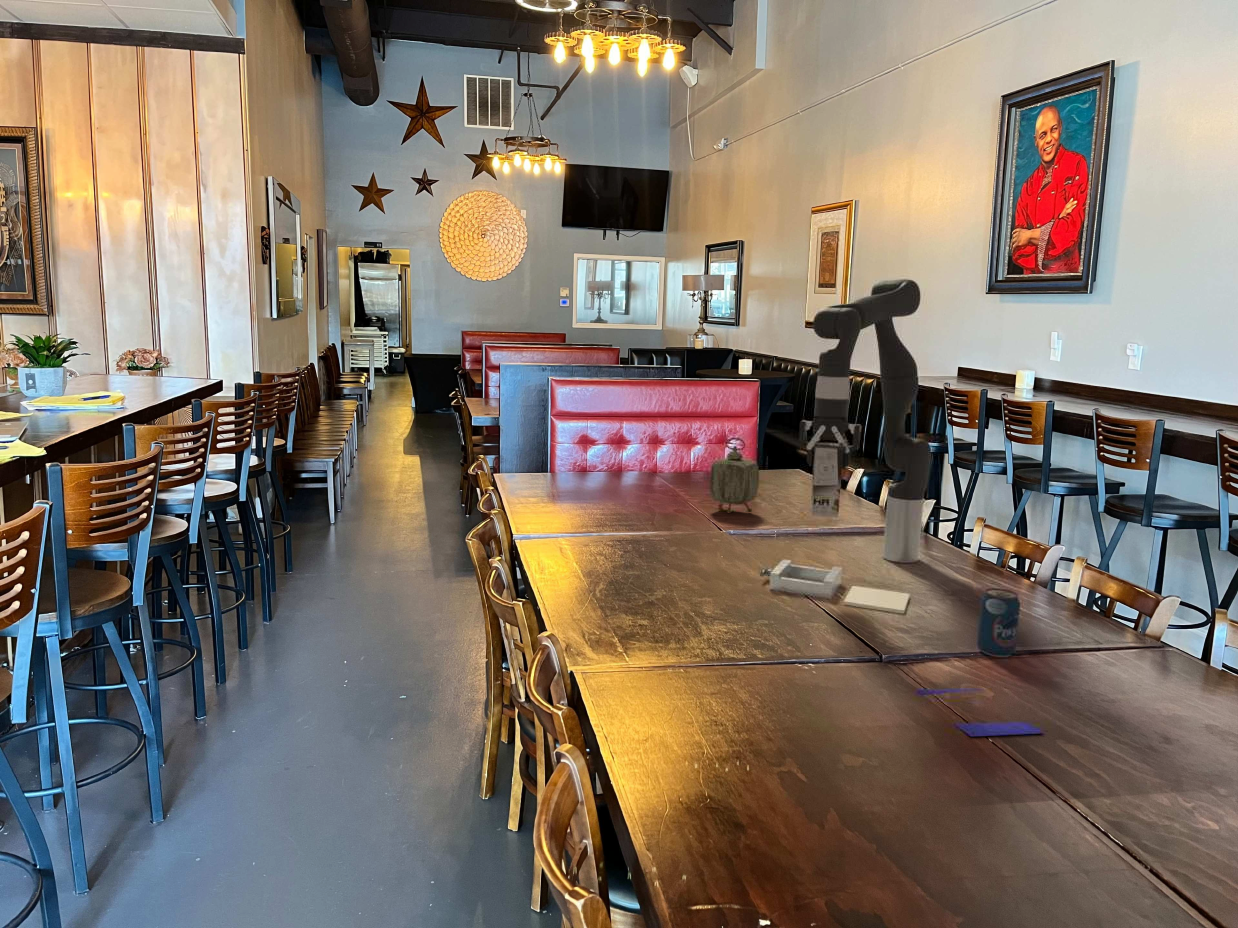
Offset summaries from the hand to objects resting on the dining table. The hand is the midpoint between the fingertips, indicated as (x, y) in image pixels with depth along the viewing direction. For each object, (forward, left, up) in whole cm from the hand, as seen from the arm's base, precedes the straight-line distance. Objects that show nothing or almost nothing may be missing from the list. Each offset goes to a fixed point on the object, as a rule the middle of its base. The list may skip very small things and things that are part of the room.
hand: (827, 466), depth 199 cm
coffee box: (0, 0, -11) cm, 11 cm away
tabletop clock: (-70, -42, -30) cm, 87 cm away
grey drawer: (0, -5, -30) cm, 30 cm away
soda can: (+24, +39, -30) cm, 54 cm away
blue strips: (+51, +34, -30) cm, 69 cm away
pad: (+3, +14, -30) cm, 33 cm away
